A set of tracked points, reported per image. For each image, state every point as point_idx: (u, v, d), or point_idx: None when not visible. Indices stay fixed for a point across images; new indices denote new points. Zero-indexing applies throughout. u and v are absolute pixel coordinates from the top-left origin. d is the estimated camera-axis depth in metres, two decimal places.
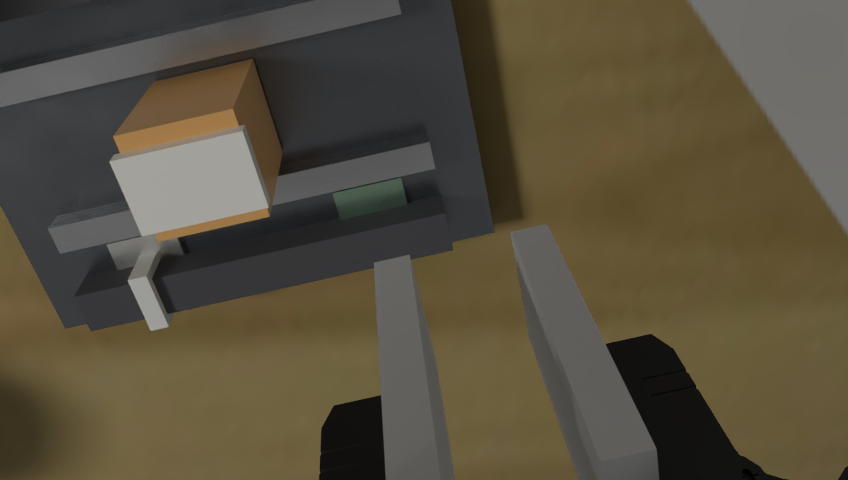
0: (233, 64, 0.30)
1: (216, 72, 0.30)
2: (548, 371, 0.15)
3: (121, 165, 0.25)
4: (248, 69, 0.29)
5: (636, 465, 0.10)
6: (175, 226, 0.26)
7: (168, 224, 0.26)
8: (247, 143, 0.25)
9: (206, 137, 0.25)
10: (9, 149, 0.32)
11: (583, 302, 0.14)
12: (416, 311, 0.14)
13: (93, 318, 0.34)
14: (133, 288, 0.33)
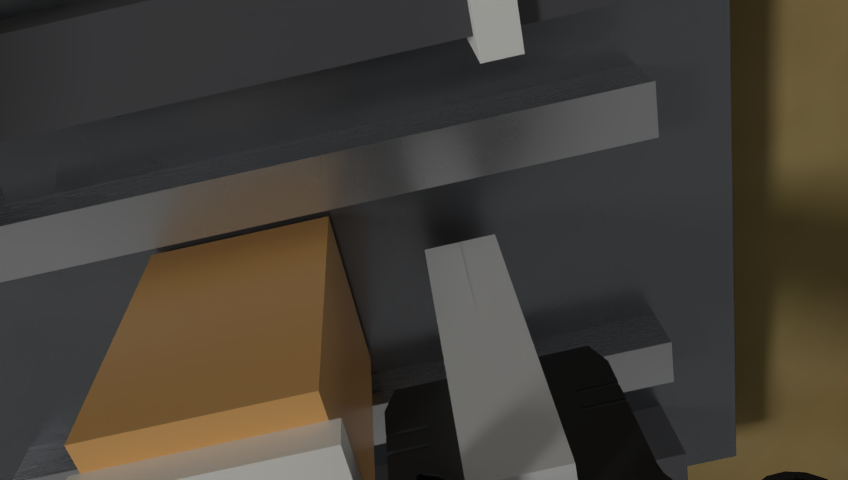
0: (294, 227, 0.17)
1: (265, 246, 0.17)
2: None
3: None
4: (326, 247, 0.16)
5: (556, 479, 0.10)
6: None
7: None
8: (348, 462, 0.12)
9: (262, 455, 0.12)
10: None
11: (522, 314, 0.14)
12: (473, 296, 0.14)
13: None
14: None
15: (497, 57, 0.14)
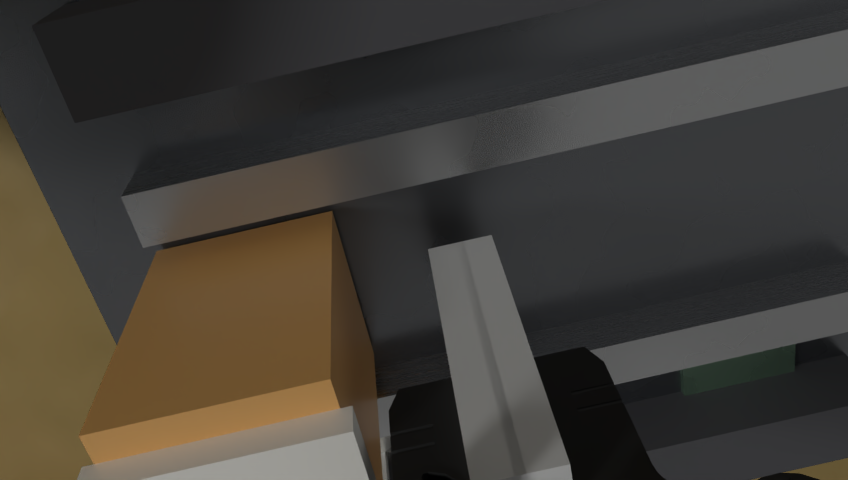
0: (298, 222, 0.17)
1: (270, 241, 0.17)
2: None
3: None
4: (331, 241, 0.16)
5: None
6: None
7: None
8: (360, 449, 0.12)
9: (276, 443, 0.12)
10: None
11: (518, 315, 0.14)
12: (477, 296, 0.14)
13: None
14: None
15: None
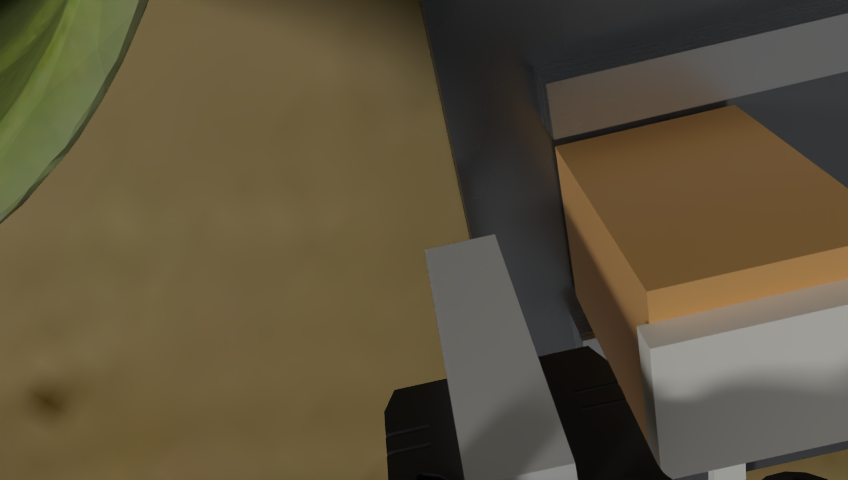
0: (704, 115, 0.17)
1: (688, 131, 0.16)
2: None
3: (671, 356, 0.12)
4: (763, 128, 0.16)
5: (556, 479, 0.10)
6: (733, 462, 0.13)
7: (720, 458, 0.13)
8: None
9: None
10: (528, 205, 0.18)
11: (522, 314, 0.14)
12: (473, 297, 0.14)
13: None
14: None
15: None
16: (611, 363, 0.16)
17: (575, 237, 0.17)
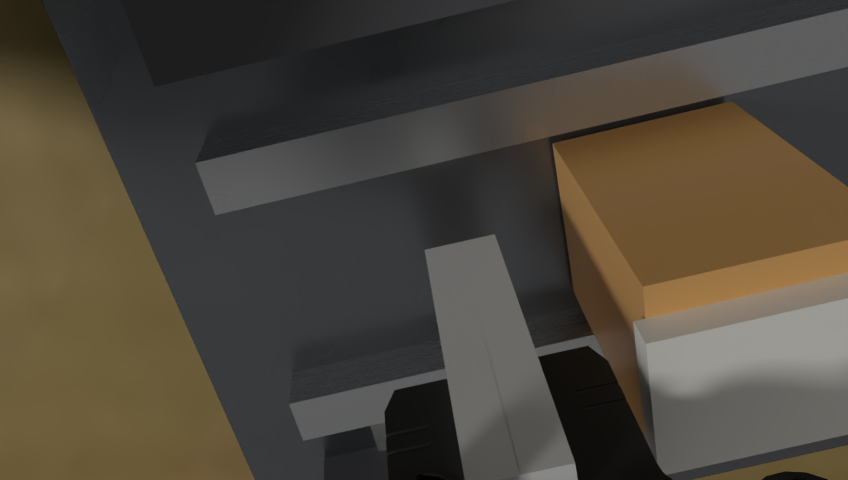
0: (701, 112, 0.17)
1: (685, 128, 0.16)
2: None
3: (667, 351, 0.12)
4: (760, 124, 0.16)
5: (556, 479, 0.10)
6: (729, 457, 0.13)
7: (717, 454, 0.13)
8: None
9: None
10: (228, 271, 0.18)
11: (522, 314, 0.14)
12: (473, 296, 0.14)
13: None
14: None
15: None
16: (608, 359, 0.16)
17: (572, 234, 0.17)
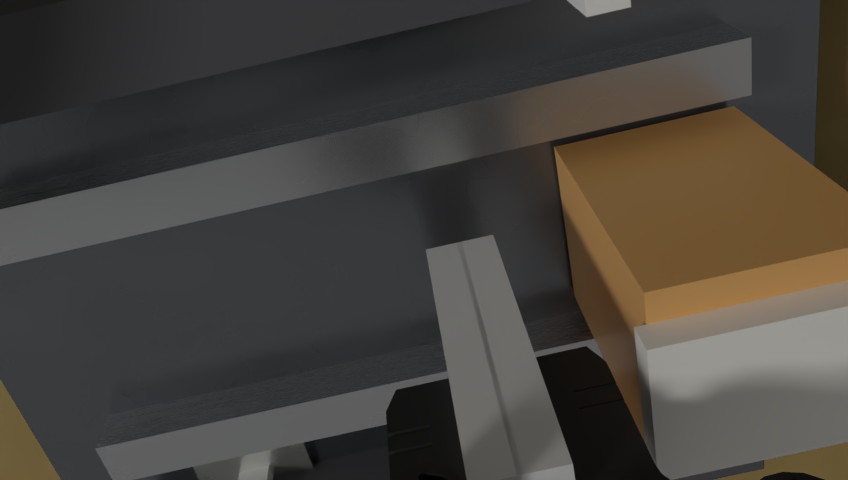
0: (703, 116, 0.17)
1: (687, 132, 0.16)
2: None
3: (668, 357, 0.12)
4: (762, 129, 0.16)
5: (553, 479, 0.10)
6: (730, 464, 0.13)
7: (717, 460, 0.13)
8: None
9: None
10: (30, 317, 0.18)
11: (520, 314, 0.14)
12: (475, 296, 0.14)
13: None
14: None
15: (604, 11, 0.14)
16: (609, 364, 0.16)
17: (574, 238, 0.17)
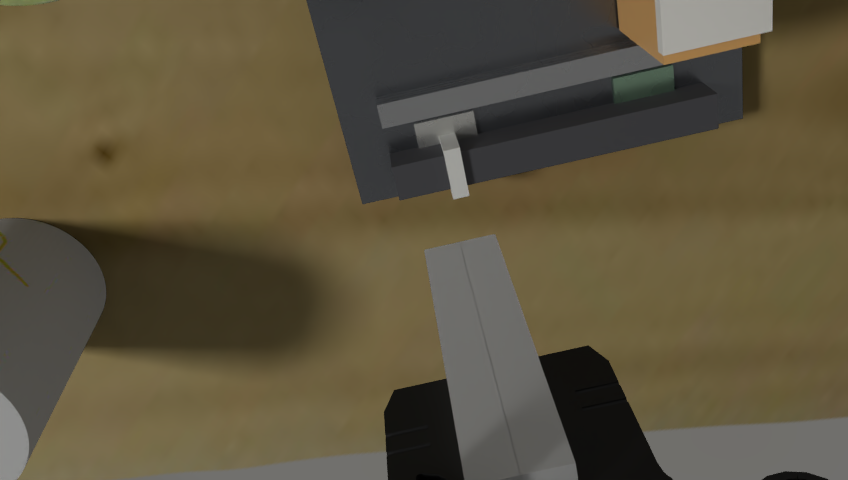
0: None
1: None
2: None
3: None
4: None
5: (556, 479, 0.10)
6: (693, 46, 0.31)
7: (687, 45, 0.31)
8: None
9: None
10: (347, 35, 0.37)
11: (522, 314, 0.14)
12: (473, 296, 0.14)
13: (404, 187, 0.39)
14: (447, 158, 0.38)
15: None
16: (639, 41, 0.35)
17: None
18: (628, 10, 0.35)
